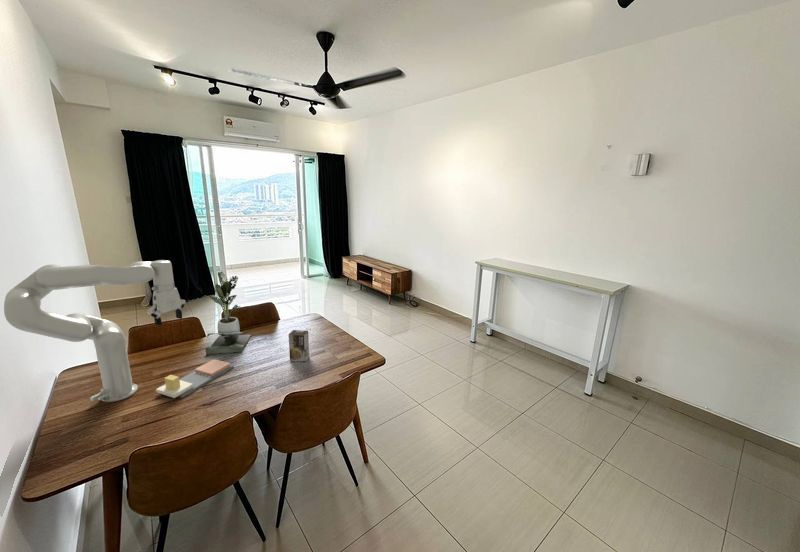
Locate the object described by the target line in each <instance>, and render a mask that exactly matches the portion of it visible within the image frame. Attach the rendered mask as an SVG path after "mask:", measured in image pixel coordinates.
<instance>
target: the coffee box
mask: <svg viewBox="0 0 800 552" xmlns="http://www.w3.org/2000/svg"><path fill="white" fill-rule="evenodd" d="M287 335H288V349H289V350H288V351H289V352H288V353H289V361H290V360H293V361H292V362H297V361H306V360H307V361H308V359H309V358H310V344H309V343H310V339H309V330H299V329H298V330H297V329H293V330H292V331H290V332H289V333H288V334H287ZM308 357H309V358H308ZM307 361H306V362H307Z"/></svg>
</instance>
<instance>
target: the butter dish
mask: <svg viewBox="0 0 800 552" xmlns="http://www.w3.org/2000/svg"><path fill="white" fill-rule="evenodd" d="M179 379H180V377H179V376H177V375H173V374H169V375H167V376H166V377H164V384H163V385H161V386H159V387H157V388H156V389H155V392H156V393H158V394H161V395H163V396H166V397H170V398H173V399H175V398H177V397H178V396H179V395H181V394H182V393H184V392H186V391H188V390H189V389H191V388H193V387H194V386H193V384H192V383H189V382H185V381H182V380H179Z"/></svg>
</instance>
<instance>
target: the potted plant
mask: <svg viewBox="0 0 800 552" xmlns="http://www.w3.org/2000/svg"><path fill="white" fill-rule="evenodd" d="M217 277H218V281H219V284H218V283H216V284H215V290H216V294H217V296H209V298H210V299H211V300H212V301H213V303H216V304H218V305H220V307H221V309H222V311H223V316H224V318H220V319H218V321H217V332H209V333H207V335H206V337H207V338H208V337H209V336H213V335H218V337H217V338H215V340H214V341H213V343H212V344H211V345H210V346H207V347H205V354H206V355H216V354H218V353H221V354H234V353H233V352H239V353H243V352H244V350H245V348H246V346H247V345H248V343H249V341H250V339H251V338H250V336H251V337H252V334H244V332H243V331H240V321H239V319H238V318H237V317H235V316H231V314H232V312H233V311H234V310H238V309H239V308H241V305H238V304H234V305H233V306H232V308H231V309H230V312H229V306H230V305H231V304H232V303H233V301H234V300H235V299H236V297H237V296H238V295H236V294H234V295H231V292H232V290H235V289H236V286H237V282H238V281H239V277H237V275H235V276H234V275H232V276H231V277H229V280H228V277H227V276H225V274H224V272H223V271H218V272H217ZM223 279H224V280H223ZM249 338H250V339H249ZM248 340H249V341H248ZM247 342H248V343H247ZM246 344H247V345H246ZM242 351H243V352H242Z"/></svg>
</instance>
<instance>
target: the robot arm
mask: <svg viewBox="0 0 800 552" xmlns="http://www.w3.org/2000/svg"><path fill="white" fill-rule="evenodd" d="M150 281H153V286H152V287H151V290H152V291H153V293H152V306H151V307H149V308H148V309H147V310H146V313H147V314H148V315H149V316H150V317H152V318H153V319H154V325H156V326H158V327H161V326H163V323H162V318H161V315H162V314H166V313H169V312H172V311H175V318H176V319H179V320H182V319H183V311H184V310H183V309H184V308H185V305H186V300H185V299H183V298H181V296H180V294H179V291H178V288H177V287H176V286H175V281H174V273H173V265H172V262H171V260H165V259H158V260H154V261H153V260H152V261H143V260H142V261H141V260H140V261H135V262H131V264H129V265H128V266H110V265H109V266H108V265H104V264H103V265H102V264H87V265H86V264H84V265H71V266H61V265H58V264H47V265H45V264H44V265H43V266H41V267H39V268H37V269H36V270H35V271H34V272H32V273H31V274H30V275H29V276H27V277H25V279H24V280H22V281H20V282H19V283H18V284H16V285H15V286H14V287H13V288H11V289H10V290H9V291H8V292H7V293H6V295H5V297H4V303H3V313H4V318H5V320H6V321H7V323H8V324H10V325H11V326H12V327H14V328H15V329H17V330H20V331H23V332H26V333H32V334H36V335H40V336H45V337H50V338H52V339H53V338H54V339H58V340H64V341H66V342H67V341H68V342H74V343H80V342H83V341H86V340H91V341H93V343H94V348H95V352H96V358H97V359H96V360H97V364H98V368H99V373H100V378H101V382H102V388H100V391H99V392H98V393H97V394H94V395H92V396H90V397H89V400H90V401H91V402H94V401H95V400H98V401H102V402H104V403H110V402H111V403H113V402H118V401H122V400H124V399H128V398H129V397H131V396H132V395H135V394H136V393H137V392H138V390H139V386H138V385H137V384H136V383H133V379H132V378H133V377H132V373H131V367H130V366H131V365H130V361H129V356H128V351H127V339H126V335H125V333H124V332H123V330H122V329H121V327H120V326H119V325H118V324H117V323H116V322H114V321H111V320H108V319H103V318H100V317H96V316H92V315H88V314H84V313H77V312H75V313H68V314H66V315H63V314H58V313H54V312H50V311H49V312H48V311H46V310H42V308H41V304H42V303H41V302H42V301H41V300H42V299H44V298H45V297H47V296H48V295H49V294H50V293H52V292H53V291H55V290H56V291H57V290H66V289H74V288H75V289H76V288H84V287H93V286H123V285H135V284H143V283H147V282H150ZM153 311H154V312H153Z"/></svg>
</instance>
